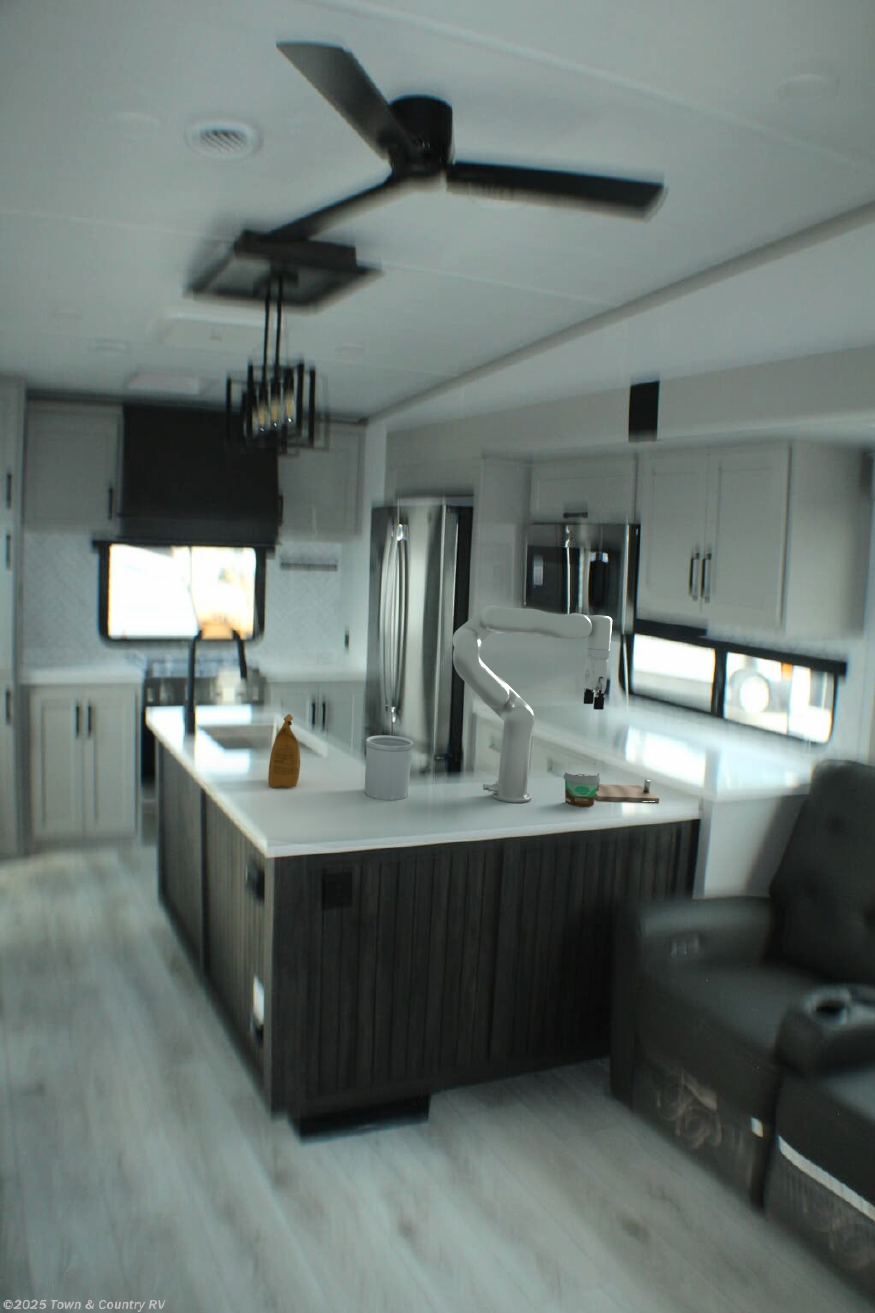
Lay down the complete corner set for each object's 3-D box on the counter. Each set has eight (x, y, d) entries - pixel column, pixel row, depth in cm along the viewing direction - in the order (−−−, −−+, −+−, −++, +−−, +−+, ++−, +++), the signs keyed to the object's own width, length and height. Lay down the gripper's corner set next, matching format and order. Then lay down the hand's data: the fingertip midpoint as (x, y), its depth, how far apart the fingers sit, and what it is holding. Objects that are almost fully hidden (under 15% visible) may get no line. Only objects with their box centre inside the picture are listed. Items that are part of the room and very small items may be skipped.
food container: (566, 807, 316) (569, 776, 315) (560, 802, 322) (563, 772, 321) (603, 808, 319) (606, 777, 318) (596, 803, 325) (599, 773, 324)
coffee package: (301, 780, 324) (305, 714, 321) (297, 790, 312) (301, 721, 309) (270, 778, 323) (274, 712, 321) (265, 788, 311) (269, 719, 308)
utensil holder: (403, 803, 306) (407, 747, 304) (356, 797, 309) (360, 742, 307) (414, 792, 321) (418, 738, 319) (369, 786, 324) (373, 733, 321)
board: (598, 800, 328) (600, 784, 327) (583, 787, 343) (585, 772, 343) (658, 802, 331) (660, 786, 330) (641, 790, 347) (643, 774, 346)
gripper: (577, 650, 327) (573, 701, 329) (595, 657, 310) (590, 711, 312) (599, 651, 328) (595, 702, 330) (618, 658, 311) (613, 712, 313)
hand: (593, 706), depth 321 cm, fingers open, 9 cm apart
